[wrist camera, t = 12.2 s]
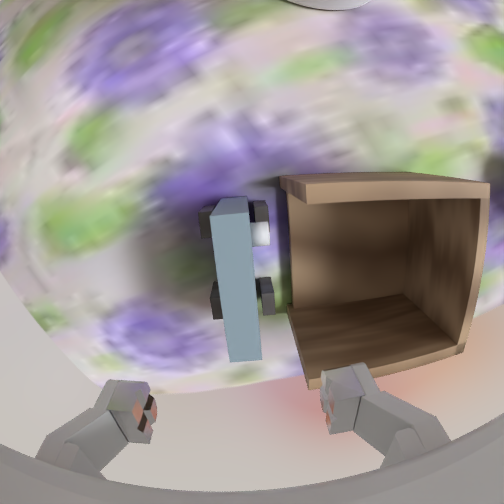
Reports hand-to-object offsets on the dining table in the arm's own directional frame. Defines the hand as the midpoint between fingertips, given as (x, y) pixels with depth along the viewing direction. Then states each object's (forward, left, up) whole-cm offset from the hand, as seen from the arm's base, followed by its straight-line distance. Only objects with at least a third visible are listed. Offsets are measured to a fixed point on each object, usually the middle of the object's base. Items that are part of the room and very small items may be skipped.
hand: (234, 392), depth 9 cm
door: (0, 0, -18) cm, 18 cm away
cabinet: (0, +7, -18) cm, 19 cm away
